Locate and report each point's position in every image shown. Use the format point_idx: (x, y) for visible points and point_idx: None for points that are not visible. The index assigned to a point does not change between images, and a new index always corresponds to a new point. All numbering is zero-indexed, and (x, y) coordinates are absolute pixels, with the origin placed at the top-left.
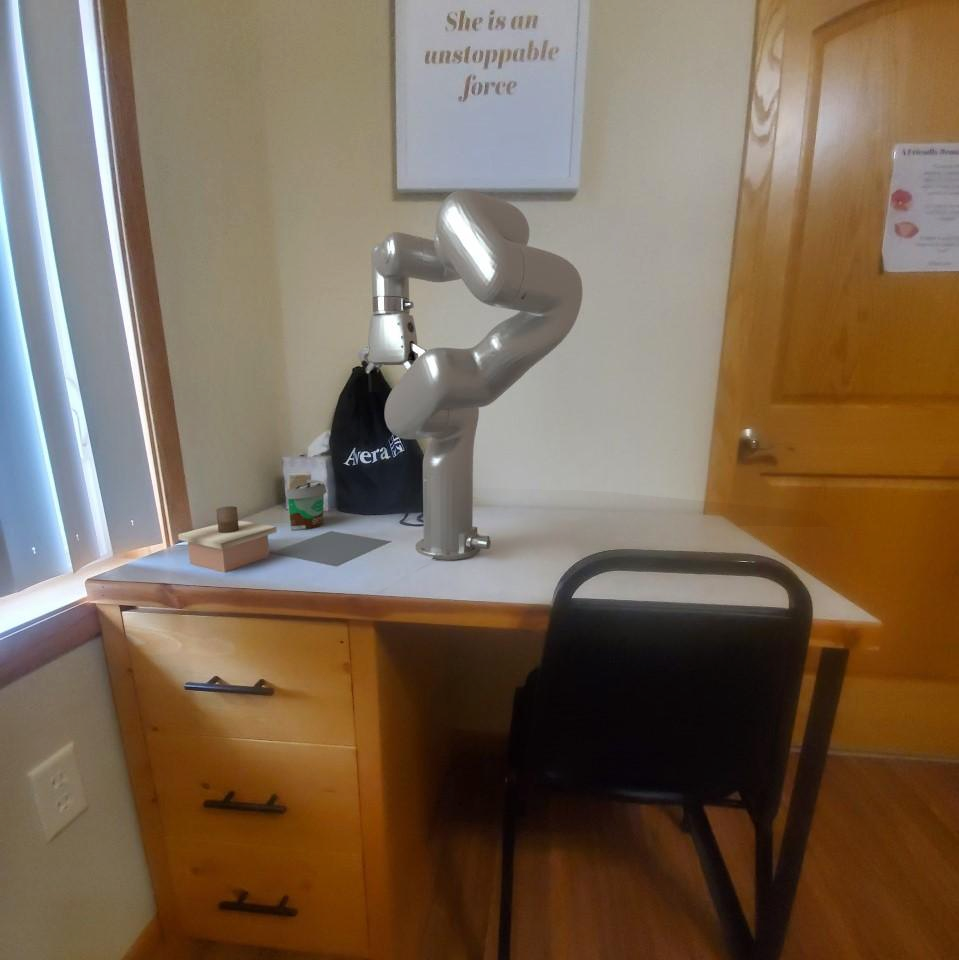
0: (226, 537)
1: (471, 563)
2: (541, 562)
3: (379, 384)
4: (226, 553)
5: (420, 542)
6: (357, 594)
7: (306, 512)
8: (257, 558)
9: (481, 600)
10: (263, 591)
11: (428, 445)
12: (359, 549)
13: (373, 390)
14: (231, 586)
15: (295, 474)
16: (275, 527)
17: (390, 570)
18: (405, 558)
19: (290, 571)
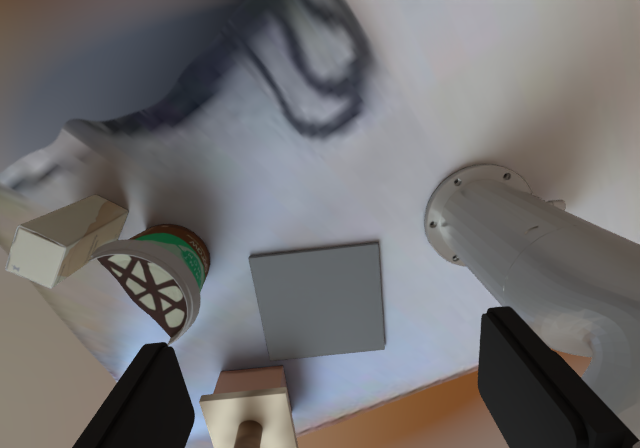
0: (279, 442)
1: None
2: (636, 183)
3: (149, 394)
4: None
5: (434, 236)
6: (454, 375)
7: (200, 290)
8: (285, 384)
9: None
10: (364, 412)
11: (555, 336)
12: (363, 295)
13: (190, 412)
14: (326, 420)
15: (51, 276)
16: (285, 393)
17: (445, 315)
18: (436, 276)
19: (341, 373)
